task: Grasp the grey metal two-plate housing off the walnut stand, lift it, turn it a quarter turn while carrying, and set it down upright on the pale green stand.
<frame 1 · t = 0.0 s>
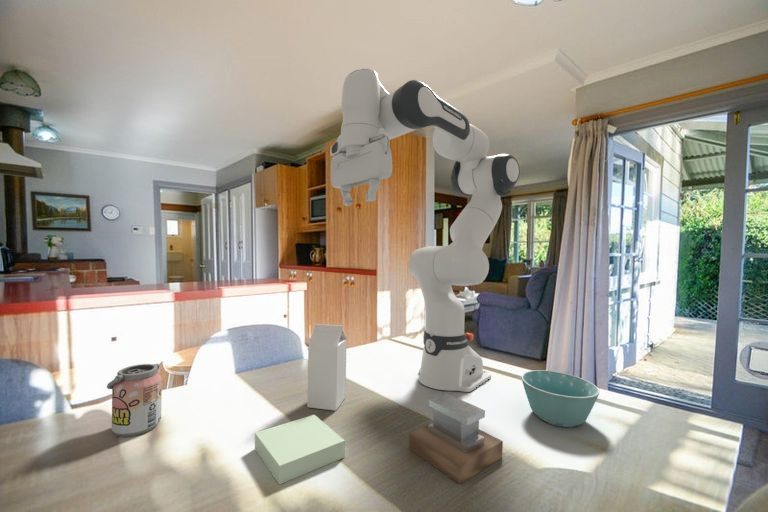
hand: (358, 203, 78), 48 cm above the table, fingers open, 8 cm apart
stand b: (298, 452, 62), on the table
bowl: (557, 418, 77), on the table
beverage can: (135, 428, 69), on the table
housing: (455, 437, 63), point 3 cm above the table, touching stand a
stand a: (454, 453, 63), on the table
milk carton: (326, 403, 82), on the table
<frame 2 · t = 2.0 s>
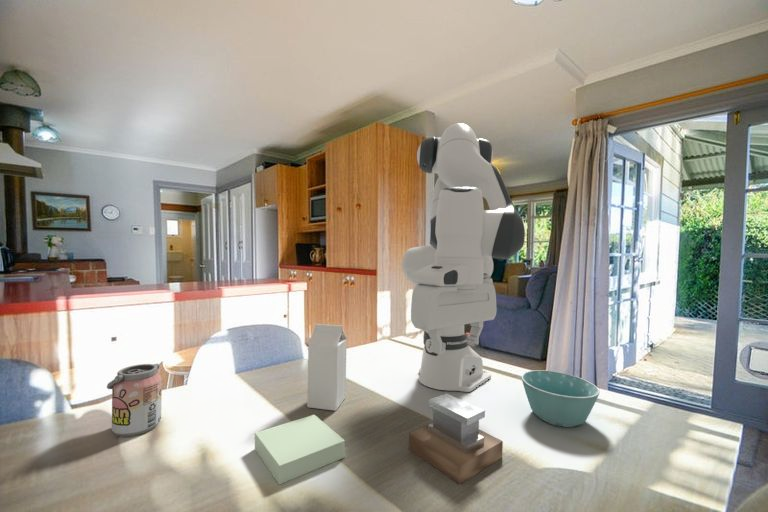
hand: (456, 348, 62), 19 cm above the table, fingers open, 8 cm apart
nothing on the table moved.
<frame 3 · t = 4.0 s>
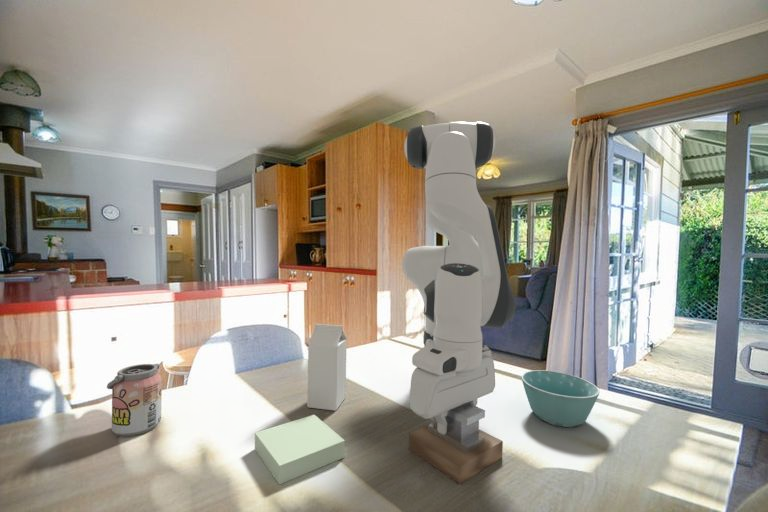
hand: (455, 426, 63), 5 cm above the table, fingers closed on housing, 5 cm apart
housing: (455, 437, 63), point 3 cm above the table, touching gripper, stand a
everything else where it was.
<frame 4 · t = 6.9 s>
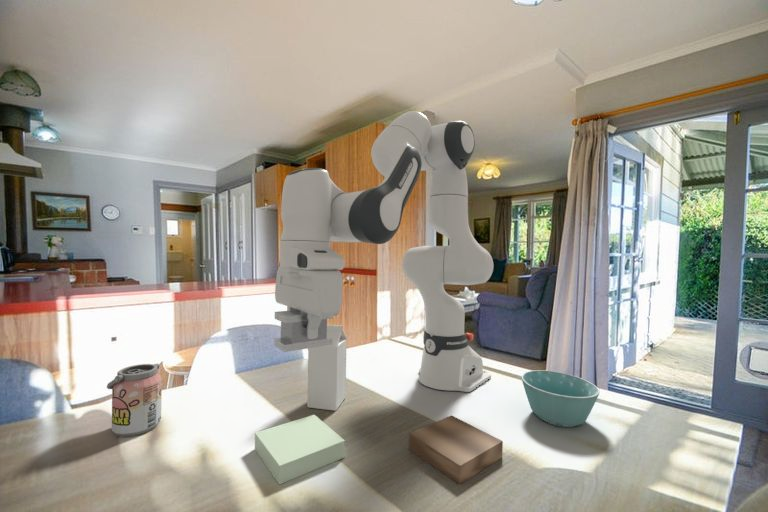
hand: (303, 334, 61), 22 cm above the table, fingers closed on housing, 5 cm apart
housing: (303, 345, 61), point 20 cm above the table, touching gripper
everything else where it was.
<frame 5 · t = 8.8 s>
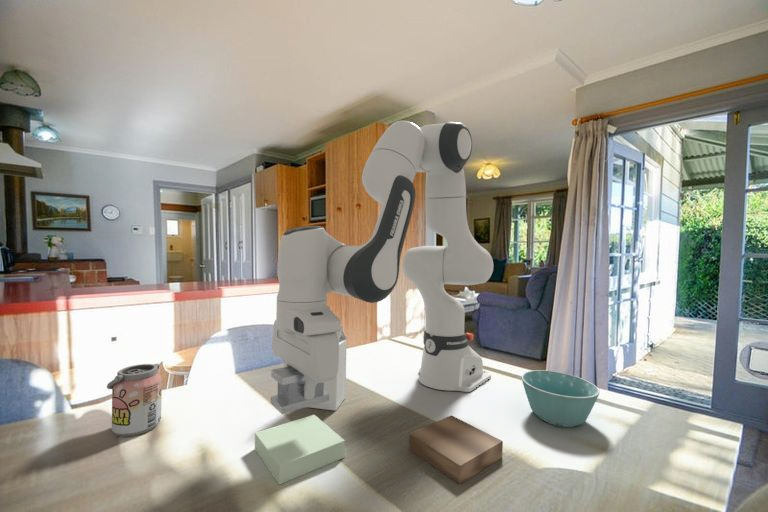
hand: (300, 391, 61), 11 cm above the table, fingers closed on housing, 5 cm apart
housing: (300, 401, 61), point 9 cm above the table, touching gripper
everything else where it was.
when the fingers open (6 cm above the table, at t = 10.2 s): housing drops 1 cm, resting on stand b.
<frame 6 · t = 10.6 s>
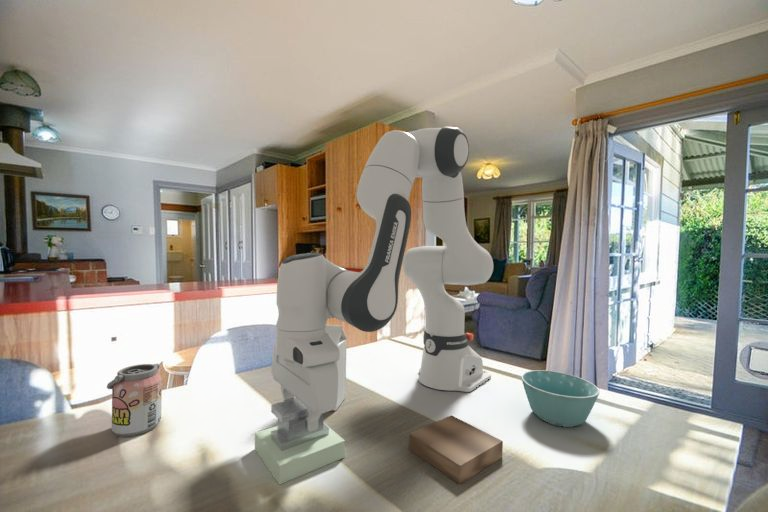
hand: (299, 418, 62), 6 cm above the table, fingers open, 8 cm apart
housing: (300, 436, 62), point 3 cm above the table, touching stand b
everything else where it was.
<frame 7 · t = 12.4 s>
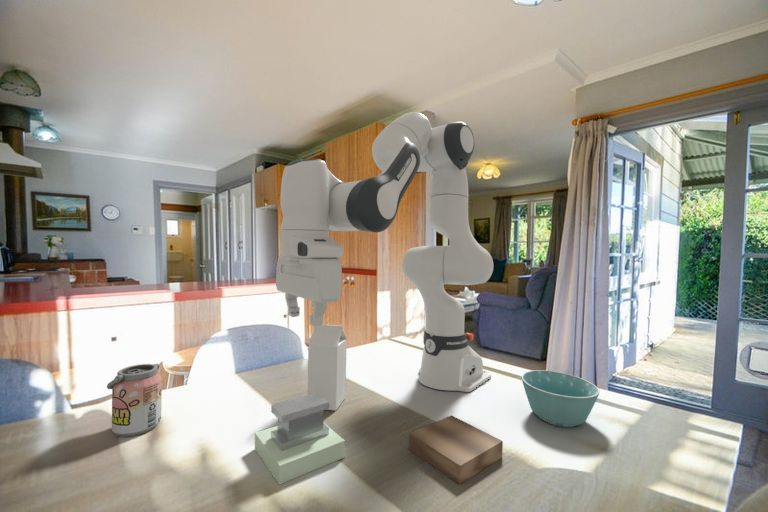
hand: (304, 320, 63), 24 cm above the table, fingers open, 8 cm apart
nothing on the table moved.
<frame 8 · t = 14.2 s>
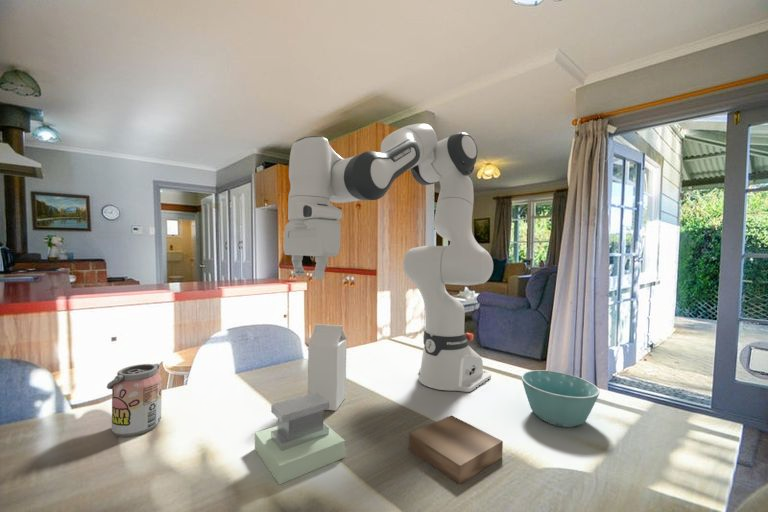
hand: (308, 277, 73), 31 cm above the table, fingers open, 8 cm apart
nothing on the table moved.
at the end: housing inside the target area on the stand b (0.2 cm from its centre), point 3.0 cm above the stand b's base; housing tilted 0°; the gripper is holding nothing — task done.
